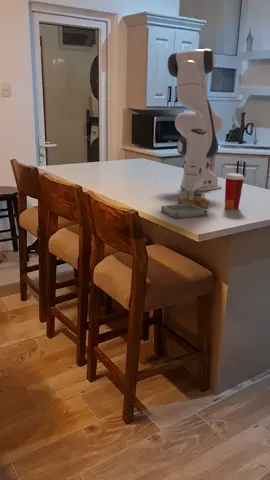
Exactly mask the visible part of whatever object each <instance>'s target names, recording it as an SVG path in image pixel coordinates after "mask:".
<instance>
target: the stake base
mask: <svg viewBox="0 0 270 480" xmlns="http://www.w3.org/2000/svg"><path fill="white" fill-rule="evenodd" d="M179 204H194V205H196V206H198V207H201V208H203V209H205V208H206V209H207V208H209V207H210V205H209V204H210V200H208V199H206V201H201V202H199V201H191V200H183V196H181V197H179V196H178V198H177V205H179Z"/></svg>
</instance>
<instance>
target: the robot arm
mask: <svg viewBox="0 0 270 480" xmlns="http://www.w3.org/2000/svg"><path fill="white" fill-rule="evenodd" d="M216 60H217V59H216V56H215V52H214V51H213V50H212V49H211V48H210V49H209V48H204V49H202V48H201V49H199V48H198V49H190V50H184V51H179V52H174V53H172V54H170V55H169V56H168V59H167V63H166V66H167V70H168V73H169V75H170V76H171V77H174V78H176V98H177V100H178V103H179V104H180V105H181V106H183V107H184V108H186V109H188V110H189V111H184V112H180V113H177V115H176V116H175V120H174V126H175V127H174V128H175V129H176V131H178V133H180V135H181V136H180V138H178V140H177V146H176V147H177V152H178V154H179V155H180V156H181V157H184V161H183V174H182V175H183V176H182V179H181V183H180V186H179V187H180V188H182V189H184V190H185V192H189V200H193V199H194V191H198V193H199V192H200V191H202V192H204V191H210V190H216V189H217V190H218V189H222V187H223V186H222V185H221V184H219V182H218V181H219V179H218V176H217V175H216V174H215V173H214V172H213V171H212V170H211V169H210V168H209V167H212V166H213V162H211V161H208V160H207V158H208V159H211V158H212V157H214V156H215V155H216V154H217V152H218V150H219V142H218V138H217V134H219V132H221V130H222V128H223V119H222V117H221V115H219V114H218V113H217V112H216V111H215V110H214V108H213V107H212V106H211V104H210V101H209V96H208V87H207V76H206V75H208V74H210V73H212V71H214V70H215V66H216V62H217V61H216Z"/></svg>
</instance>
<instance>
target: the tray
mask: <svg viewBox="0 0 270 480" xmlns="http://www.w3.org/2000/svg"><path fill="white" fill-rule="evenodd" d="M160 208H161V212H162V213H163V214H165V215H167V216H168V217H171V218H172V219H175V220H179V219H181V220H182V219H190V218H200V217H207V216H208V210H207V209H205V208H201V207H198V206H196V205H194V204H171V205H170V204H168V205H161V207H160Z"/></svg>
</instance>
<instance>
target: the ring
mask: <svg viewBox="0 0 270 480" xmlns="http://www.w3.org/2000/svg"><path fill="white" fill-rule="evenodd" d="M205 194H206V193H199V192H198V193H195V195H194V199H193V200H191V201H199V202H201V201H206V200H207V198H206V195H205ZM182 197H183V200H189V193H188V192H187V191H185V193H183V194H182Z"/></svg>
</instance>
